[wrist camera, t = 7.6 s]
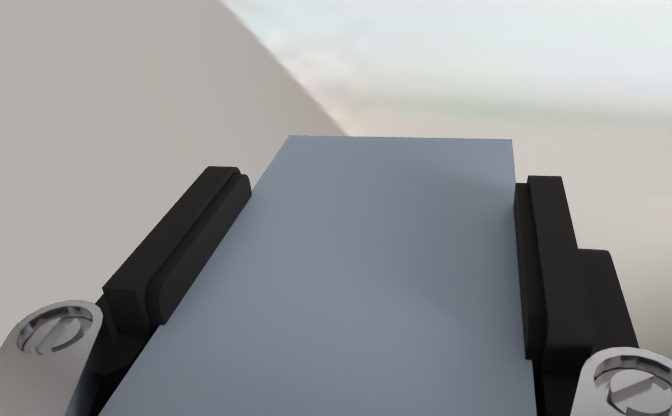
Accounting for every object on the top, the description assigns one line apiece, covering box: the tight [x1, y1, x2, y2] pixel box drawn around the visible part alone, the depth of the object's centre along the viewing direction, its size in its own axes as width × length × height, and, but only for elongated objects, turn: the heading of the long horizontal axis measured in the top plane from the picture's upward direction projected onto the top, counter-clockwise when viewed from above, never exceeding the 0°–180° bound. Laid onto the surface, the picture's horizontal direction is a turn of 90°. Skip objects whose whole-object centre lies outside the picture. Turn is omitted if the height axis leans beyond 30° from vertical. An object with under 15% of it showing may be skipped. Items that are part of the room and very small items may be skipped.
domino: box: [98, 135, 537, 416], centre depth 9 cm, size 2×5×12 cm, turn 94°
